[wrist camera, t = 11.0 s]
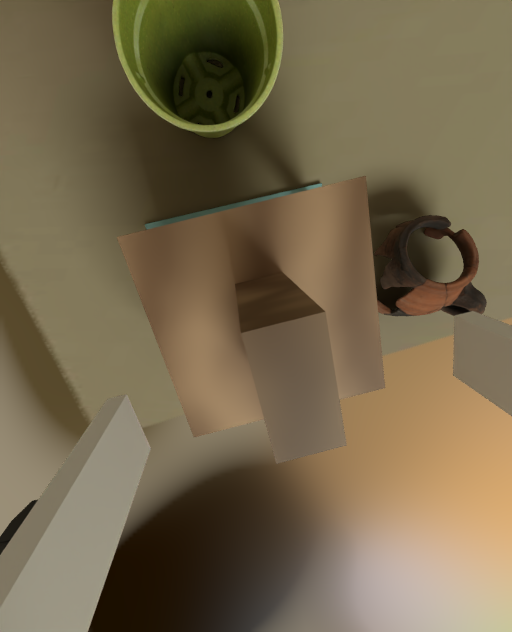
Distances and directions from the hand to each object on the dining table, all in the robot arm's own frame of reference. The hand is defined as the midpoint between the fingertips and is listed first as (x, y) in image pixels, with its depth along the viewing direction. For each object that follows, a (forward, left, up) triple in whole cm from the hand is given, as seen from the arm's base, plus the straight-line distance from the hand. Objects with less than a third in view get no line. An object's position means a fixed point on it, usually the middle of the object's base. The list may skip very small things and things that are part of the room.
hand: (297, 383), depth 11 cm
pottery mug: (-16, +3, -19) cm, 26 cm away
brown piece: (0, 0, -19) cm, 19 cm away
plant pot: (0, -16, -19) cm, 25 cm away
